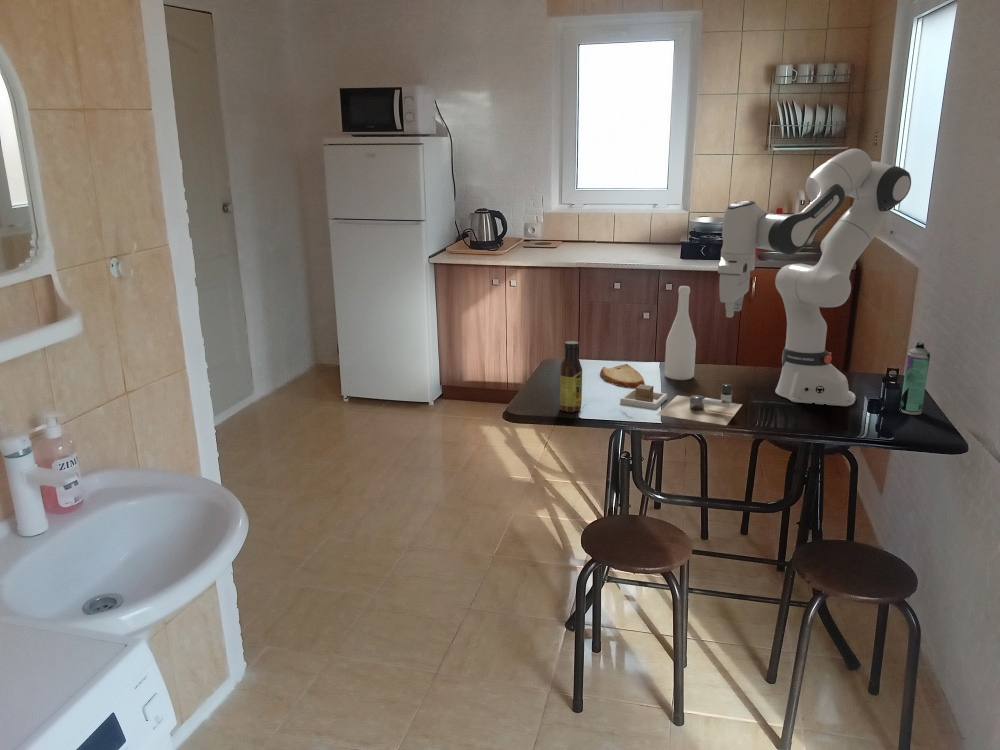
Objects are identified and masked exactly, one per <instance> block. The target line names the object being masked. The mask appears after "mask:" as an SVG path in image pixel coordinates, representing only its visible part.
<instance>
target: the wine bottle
mask: <svg viewBox="0 0 1000 750" xmlns="http://www.w3.org/2000/svg"><path fill="white" fill-rule="evenodd" d="M677 291H678V301H677V302H678V303H677V311H676V315H675V318H674V320H673V323H672V325H671V328H670V330H669V332H668V335H667V338H666V342H665V357H664V371H663V372H664V376H665V377H666V378H667V379H671V380H674V381H687V380H691V379H693V378H694V375H695V366H696V365H695V364H696V363H695V362H696V351H697V350H696V347H697V341H696V340H697V339H696V336H695V333H694V329H693V324H692V321H691V319H690V318H691V317H690V313H689V309H690V308H689V306H690V305H689V304H690V294H691V288H690V286H688V285H680V286H679V288H678V289H677Z"/></svg>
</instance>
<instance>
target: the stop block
mask: <svg viewBox="0 0 1000 750" xmlns="http://www.w3.org/2000/svg"><path fill="white" fill-rule="evenodd" d="M654 387H655V386H653V385H649V384H645V385H642V384H640V385H639V386H638V387H636V388H635V389H636V396H635V400H640V401H647V402H653V401H654V399H653V392H654Z"/></svg>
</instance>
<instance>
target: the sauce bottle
mask: <svg viewBox="0 0 1000 750" xmlns="http://www.w3.org/2000/svg"><path fill="white" fill-rule="evenodd" d="M579 348H580V343H579V341H574V340H568V341H565V342H564V349H565V350H564V359H563V361H561V364H560V375H559V376H560V377H559V379H560V380H559V408H560V410H561V411H562V412H564V411H566V412H565V413H576V412H575V411H577V412H579V411H581V410H582V398H583V397H582V396H583V368H582V364H581V361H580V359H579Z"/></svg>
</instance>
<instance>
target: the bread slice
mask: <svg viewBox="0 0 1000 750" xmlns="http://www.w3.org/2000/svg"><path fill="white" fill-rule="evenodd" d="M599 375H600V378H601V379H602V378H603V379H602V380H604V379H605V380H606V381H605V380H604V381H605V382H607V381H609V382H610V383H609V382H608V383H609V384H611V383H613V384H612V385H614V384H617V385H620V386H619V387H621V386H624V387H623V388H627V387H630V388H629V389H636V387H638V386H639V385H640V384H642V385H646V384H645V380H644V377H643V375H642V374H641V373H640V372H638V370H636V369H635V368H634V367H633V366H631V365H629V364H628V363H625V364H620V365H616V366H614V367H606V366H603V367H602V368H601V370H600V371H599ZM617 385H616V386H617Z"/></svg>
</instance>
